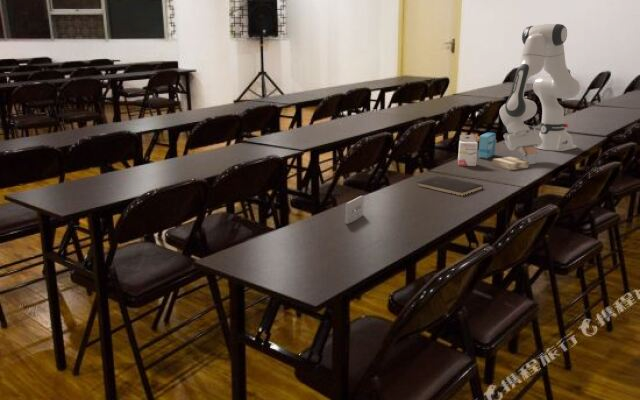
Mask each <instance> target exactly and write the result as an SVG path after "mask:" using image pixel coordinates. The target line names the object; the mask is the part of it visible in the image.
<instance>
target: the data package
mask: <svg viewBox="0 0 640 400" xmlns="http://www.w3.org/2000/svg"><path fill="white" fill-rule="evenodd" d="M496 139H497V134H496V133H495V132H485V133H483V134H481V135H480V136H479V143H478V158H481V159H486V160H487V159H489V158H491V157H493V156H494V155H495V154H496V153H495V151H496Z"/></svg>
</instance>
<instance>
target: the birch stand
mask: <svg viewBox="0 0 640 400" xmlns="http://www.w3.org/2000/svg"><path fill="white" fill-rule="evenodd" d="M491 164H492V166H495V167H497V168H501V169H504V170H507V171H513V170H514V171H515V170H519V169H527V168H529V166H530V164H529V161H526V160H522V159H521V158H518V157H515V156H504V157H498V158H492V163H491Z"/></svg>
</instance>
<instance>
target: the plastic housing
mask: <svg viewBox="0 0 640 400" xmlns="http://www.w3.org/2000/svg"><path fill="white" fill-rule="evenodd" d="M523 150H524V151H526V152H527V155H526V156H523V155H522V160H526V161H529V165H534V164H536V162H537V154H538V148H535V147H524V148H523Z"/></svg>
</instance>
